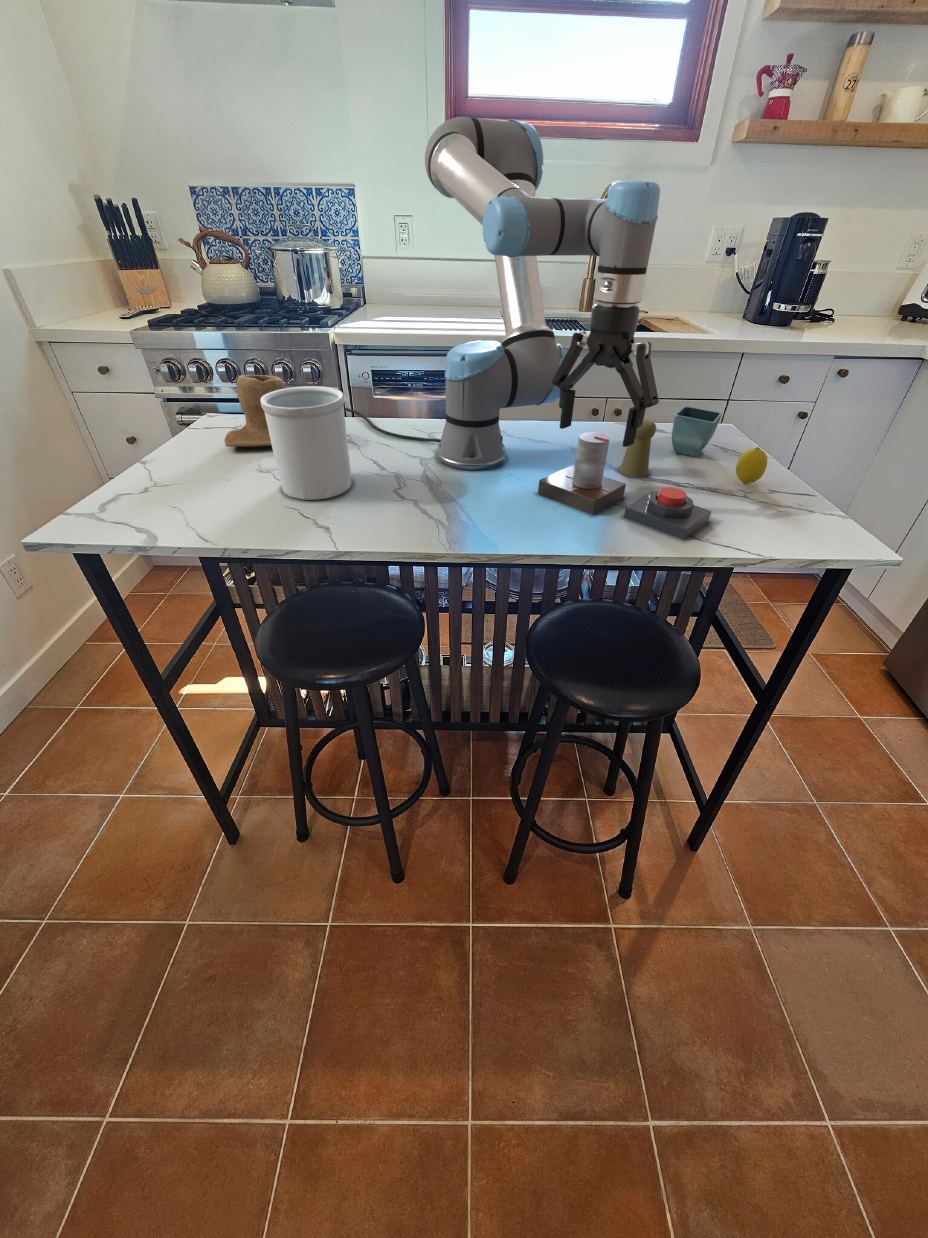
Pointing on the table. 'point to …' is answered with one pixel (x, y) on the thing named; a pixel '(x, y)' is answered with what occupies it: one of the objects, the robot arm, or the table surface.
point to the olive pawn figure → (639, 451)
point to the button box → (667, 515)
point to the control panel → (580, 491)
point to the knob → (590, 460)
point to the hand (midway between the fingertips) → (595, 435)
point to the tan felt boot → (253, 410)
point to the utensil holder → (309, 440)
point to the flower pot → (693, 429)
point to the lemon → (751, 465)
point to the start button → (672, 496)
